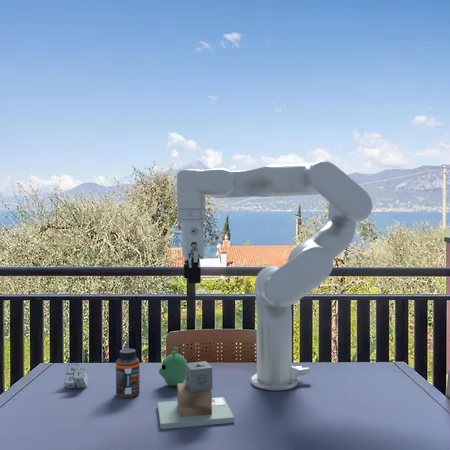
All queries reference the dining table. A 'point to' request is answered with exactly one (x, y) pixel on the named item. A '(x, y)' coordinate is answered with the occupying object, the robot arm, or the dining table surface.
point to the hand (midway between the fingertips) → (192, 280)
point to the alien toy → (173, 368)
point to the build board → (172, 418)
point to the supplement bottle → (127, 374)
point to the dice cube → (198, 376)
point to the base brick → (193, 401)
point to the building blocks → (76, 377)
